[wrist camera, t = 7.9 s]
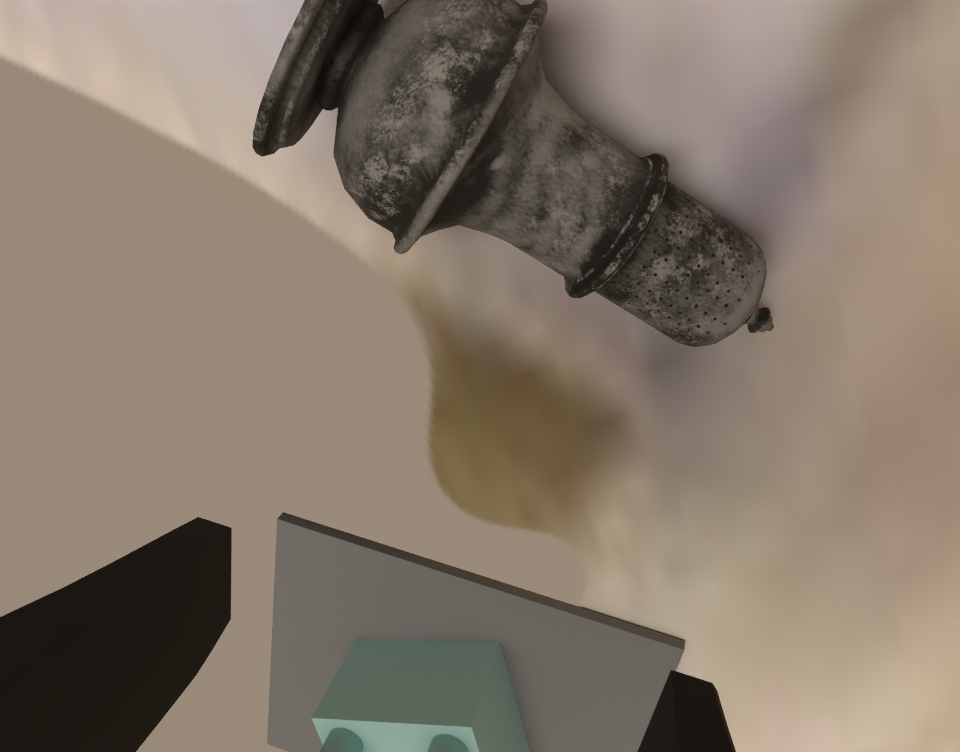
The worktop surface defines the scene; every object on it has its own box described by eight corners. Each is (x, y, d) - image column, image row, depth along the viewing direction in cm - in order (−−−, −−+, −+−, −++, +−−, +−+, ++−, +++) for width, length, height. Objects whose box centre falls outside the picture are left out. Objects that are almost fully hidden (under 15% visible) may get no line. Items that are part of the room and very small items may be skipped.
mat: (684, 640, 23) (684, 650, 23) (595, 856, 29) (594, 866, 29) (283, 512, 26) (277, 518, 25) (272, 735, 31) (267, 743, 31)
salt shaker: (371, -10, 18) (749, 243, 21) (251, 195, 17) (658, 429, 20) (410, -187, 12) (923, 194, 15) (234, 106, 12) (806, 451, 14)
